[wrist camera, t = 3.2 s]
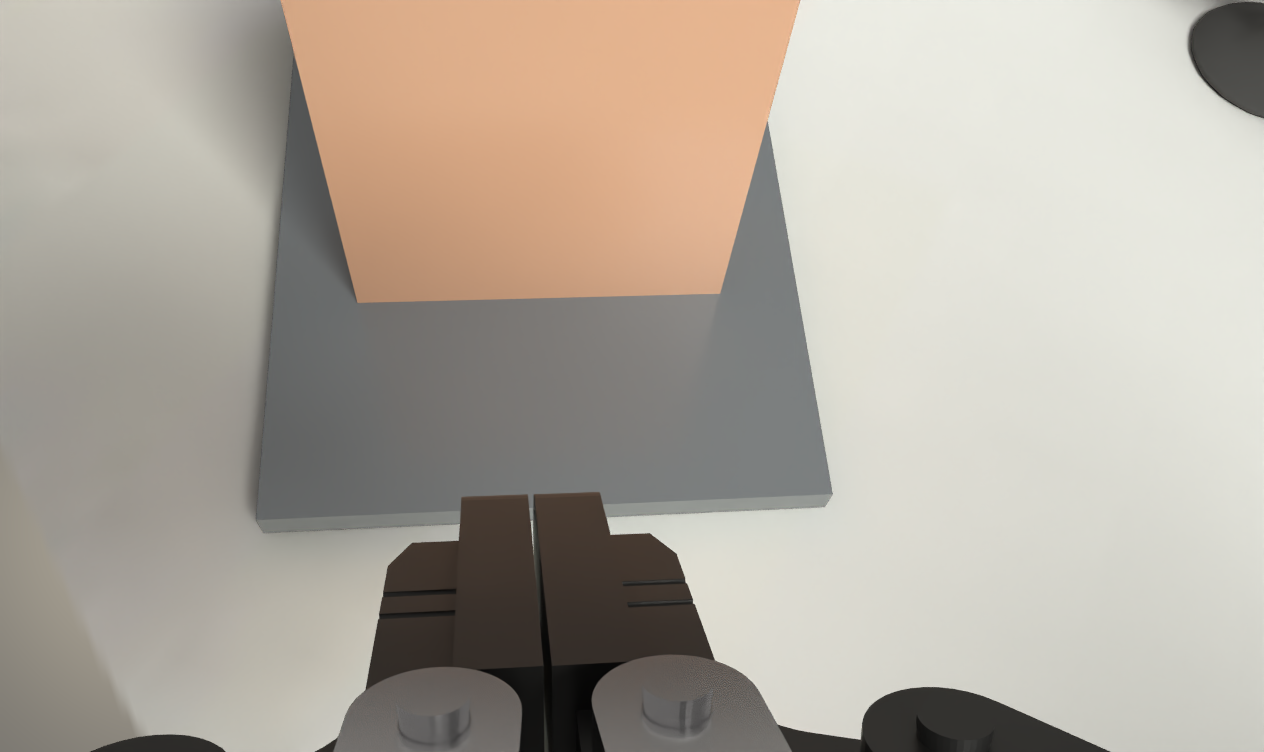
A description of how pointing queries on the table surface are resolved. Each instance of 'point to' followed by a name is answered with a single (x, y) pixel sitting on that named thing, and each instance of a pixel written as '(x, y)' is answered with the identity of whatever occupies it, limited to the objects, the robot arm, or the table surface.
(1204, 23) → the sundae
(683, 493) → the slate board
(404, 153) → the terracotta brick
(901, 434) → the table surface
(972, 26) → the table surface
